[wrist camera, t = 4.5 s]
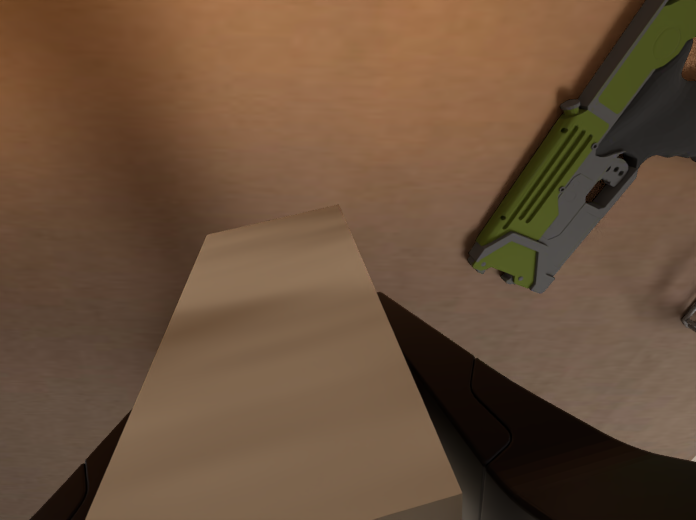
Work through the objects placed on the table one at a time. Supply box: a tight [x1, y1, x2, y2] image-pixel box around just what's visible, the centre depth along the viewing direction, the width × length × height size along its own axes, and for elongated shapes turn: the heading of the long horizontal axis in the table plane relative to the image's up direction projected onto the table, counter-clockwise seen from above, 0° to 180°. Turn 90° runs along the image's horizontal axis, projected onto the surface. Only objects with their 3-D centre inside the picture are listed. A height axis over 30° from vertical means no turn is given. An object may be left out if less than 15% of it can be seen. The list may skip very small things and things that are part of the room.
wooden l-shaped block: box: [85, 204, 462, 520], centre depth 11 cm, size 16×4×8 cm, turn 10°
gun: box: [468, 0, 696, 293], centre depth 23 cm, size 2×19×15 cm
